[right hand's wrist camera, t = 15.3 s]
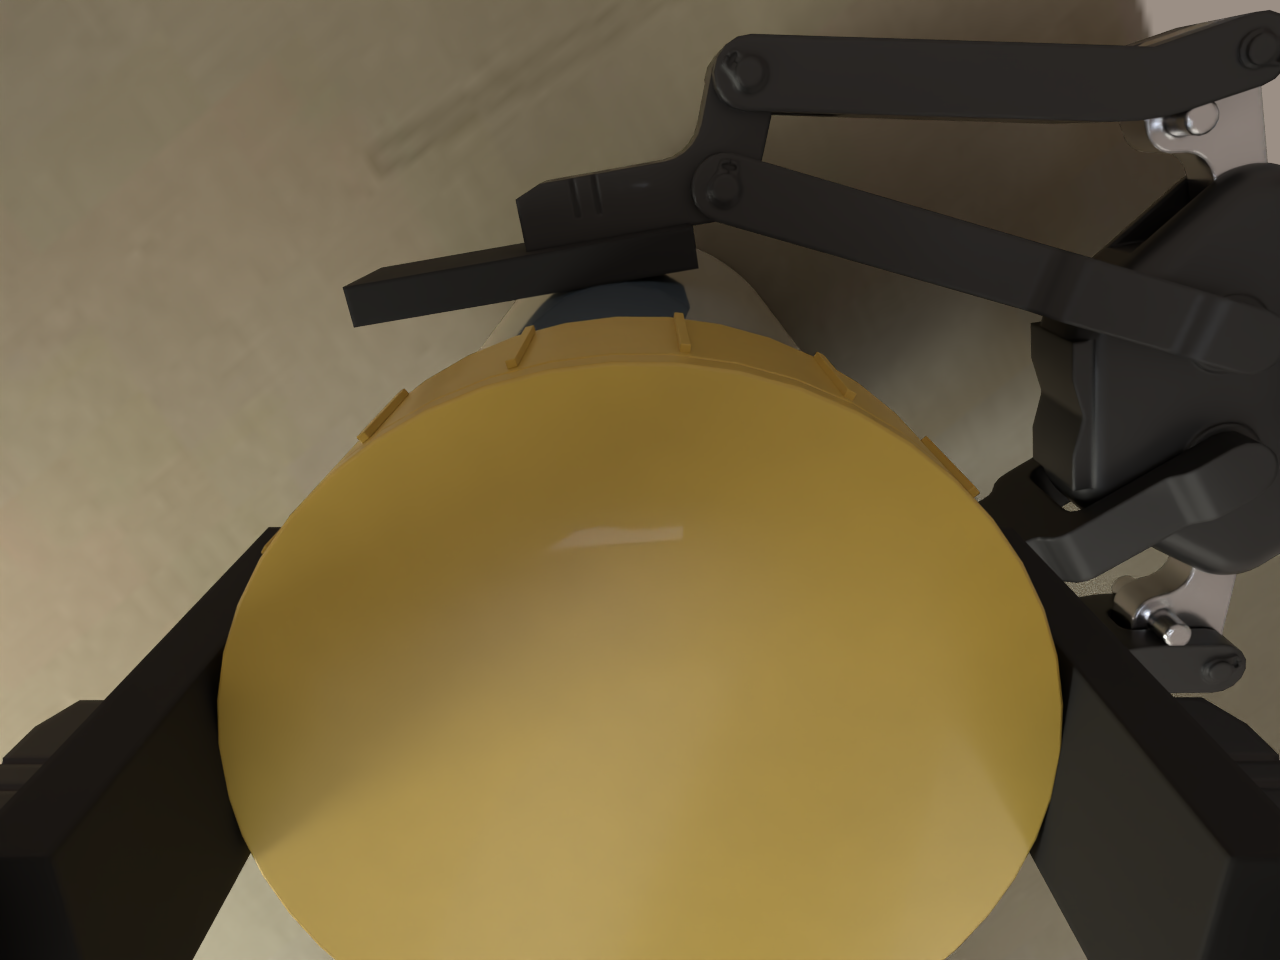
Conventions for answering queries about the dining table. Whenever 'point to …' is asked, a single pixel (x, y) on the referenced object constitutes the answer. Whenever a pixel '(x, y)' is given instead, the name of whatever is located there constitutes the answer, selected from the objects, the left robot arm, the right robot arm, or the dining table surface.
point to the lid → (640, 668)
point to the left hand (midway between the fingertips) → (426, 505)
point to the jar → (652, 303)
